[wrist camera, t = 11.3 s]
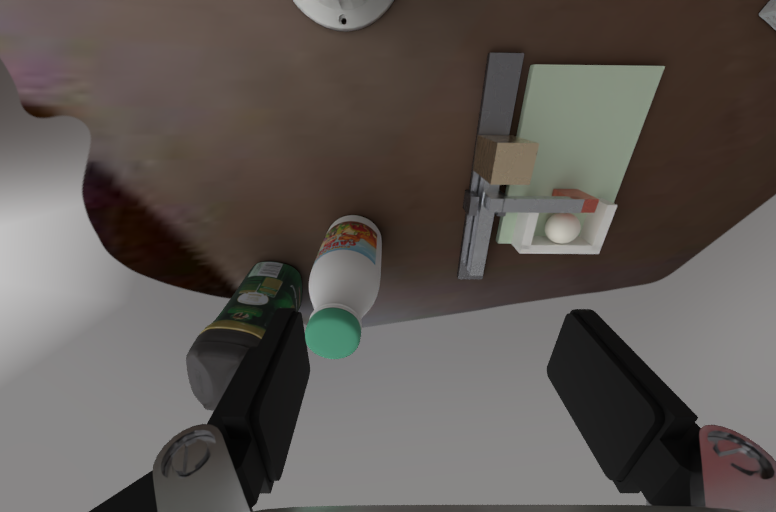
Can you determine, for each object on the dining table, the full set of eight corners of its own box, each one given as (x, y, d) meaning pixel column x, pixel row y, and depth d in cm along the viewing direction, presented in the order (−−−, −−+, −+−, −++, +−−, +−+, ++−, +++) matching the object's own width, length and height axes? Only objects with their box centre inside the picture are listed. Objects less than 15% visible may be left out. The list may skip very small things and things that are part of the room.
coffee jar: (303, 314, 48) (260, 425, 32) (253, 307, 48) (183, 417, 31) (306, 262, 44) (257, 361, 27) (250, 254, 43) (167, 350, 27)
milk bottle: (393, 239, 42) (398, 341, 24) (356, 272, 45) (336, 386, 27) (352, 201, 40) (325, 285, 22) (315, 239, 42) (265, 341, 24)
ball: (557, 237, 36) (541, 247, 40) (591, 237, 36) (571, 247, 40) (552, 206, 37) (536, 219, 41) (584, 206, 37) (566, 219, 41)
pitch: (530, 65, 32) (534, 64, 32) (657, 66, 33) (665, 66, 32) (495, 240, 42) (498, 243, 41) (593, 241, 42) (598, 244, 42)
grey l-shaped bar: (477, 134, 35) (497, 142, 28) (593, 136, 35) (638, 144, 29) (458, 268, 43) (471, 297, 37) (551, 269, 43) (579, 297, 37)
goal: (521, 197, 38) (531, 204, 36) (601, 197, 38) (617, 205, 36) (510, 243, 41) (519, 253, 39) (585, 244, 42) (598, 254, 39)
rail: (483, 53, 32) (492, 49, 29) (525, 54, 32) (539, 49, 29) (453, 276, 45) (458, 288, 42) (484, 276, 45) (490, 288, 42)
